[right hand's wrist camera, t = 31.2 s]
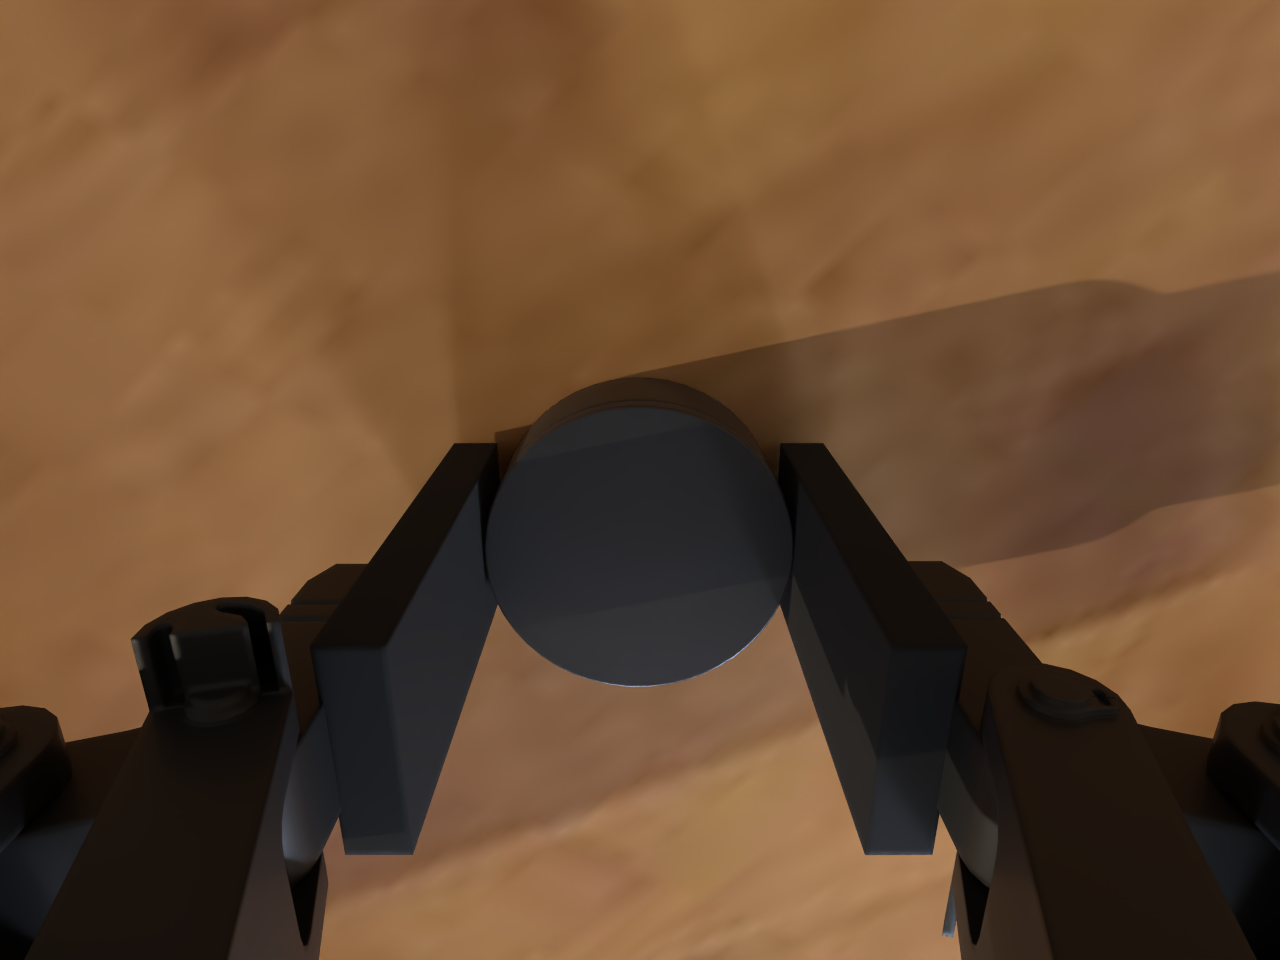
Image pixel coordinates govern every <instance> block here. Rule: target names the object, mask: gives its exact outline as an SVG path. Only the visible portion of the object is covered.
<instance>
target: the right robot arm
mask: <svg viewBox="0 0 1280 960" xmlns="http://www.w3.org/2000/svg"><path fill="white" fill-rule="evenodd" d="M499 484H500V481H499V466H498V451H497V443H454V445H453V446H452V447H451V449H450V450H449V452H448V453H447V454H446V456H445V457H444V459H443V460H442V461H441V463H440V464H439V466H438V467H437V468H436V470H435V471H434V473H433V474H432V475H431V477H430V478H429V480H428V481H427V482H426V484H425V485H424V487H423V488H422V489H421V491H420V492H419V494H418V495H417V496H416V498H415V499H414V501H413V502H412V503H411V505H410V506H409V508H408V509H407V510H406V512H405V513H404V515H403V516H402V517H401V519H400V520H399V521H398V523H397V524H396V526H395V527H394V528H393V530H392V531H391V533H390V534H389V535H388V537H387V538H386V540H385V541H384V542H383V544H382V545H381V547H380V548H379V549H378V551H377V552H376V554H375V555H374V556H373V558H372V559H371V561H370V562H369V563H368V564H335V565H334V566H332V567H330V568H329V569H327V570H325V571H323V572H322V573H320V574H318V575H317V576H315V577H313V578H312V579H310V580H308V581H307V582H306V584H305V585H304V586H303V587H302V588H301V589H300V591H299V592H298V593H297V594H296V595H295V597H294V598H293V599H292V600H291V605H287V606H286V607H285V609H284V610H283V611H282V612H281V613H280V615H279V611H278V609H277V608H276V607H275V606H273V605H272V604H270V603H269V602H268V601H265V600H260V599H255V598H250V597H225V598H217V599H212V600H207V601H202V602H197V603H193V604H190V605H187V606H184V607H181V608H178V609H176V610H173V611H170V612H167V613H165V614H164V615H162V616H160V617H158V618H157V619H155V620H153V621H151V622H149V623H148V624H146V625H144V626H143V627H142V628H141V629H140V630H139V631H138V632H137V633H136V634H135V635H134V636H133V637H132V638H131V643H132V646H133V650H134V654H135V658H136V661H137V665H138V669H139V673H140V677H141V680H142V684H143V688H144V692H145V695H146V699H147V703H148V707H149V713H148V715H147V717H146V719H145V721H144V723H143V725H142V727H140V728H136V729H132V730H128V731H123V732H118V733H113V734H108V735H103V736H98V737H92V738H87V739H82V740H77V741H72V742H67V743H65V741H64V738H63V734H62V731H61V728H60V725H59V722H58V719H57V717H56V716H55V715H53V714H52V713H51V712H49V711H48V710H47V709H45V708H39V707H31V706H14V707H6V708H0V960H319V953H320V945H321V937H322V929H323V921H324V913H325V905H326V897H327V889H328V879H327V872H326V865H325V860H324V854H323V848H324V846H325V844H326V842H327V840H328V838H329V836H330V833H331V831H332V829H333V827H334V825H335V823H336V821H337V819H338V817H339V821H340V827H341V832H342V838H343V844H344V850H345V855H413V852H414V849H415V846H416V843H417V840H418V838H419V835H420V832H421V829H422V826H423V823H424V820H425V817H426V814H427V811H428V808H429V805H430V802H431V799H432V796H433V793H434V790H435V787H436V785H437V782H438V779H439V776H440V773H441V770H442V767H443V764H444V761H445V758H446V755H447V752H448V749H449V746H450V743H451V740H452V737H453V735H454V732H455V729H456V726H457V723H458V720H459V717H460V714H461V711H462V708H463V705H464V702H465V699H466V696H467V693H468V690H469V687H470V684H471V682H472V679H473V676H474V673H475V670H476V667H477V664H478V661H479V658H480V655H481V652H482V649H483V646H484V643H485V640H486V637H487V634H488V631H489V629H490V626H491V623H492V620H493V617H494V614H495V611H496V608H497V605H498V603H497V601H496V599H495V597H494V594H493V591H492V588H491V586H490V583H489V579H488V574H487V570H486V565H485V552H484V540H485V528H486V523H487V518H488V514H489V510H490V506H491V504H492V501H493V499H494V496H495V494H496V491H497V489H498V487H499ZM778 484H779V486H780V488H781V490H782V492H783V494H784V497H785V500H786V503H787V505H788V508H789V511H790V516H791V521H792V526H793V537H794V554H793V565H792V570H791V574H790V578H789V583H788V585H787V588H786V591H785V593H784V596H783V598H782V601H781V602H780V606H781V609H782V612H783V615H784V618H785V621H786V623H787V626H788V629H789V632H790V635H791V638H792V641H793V644H794V647H795V650H796V653H797V656H798V659H799V662H800V665H801V668H802V671H803V674H804V676H805V679H806V682H807V685H808V688H809V691H810V694H811V697H812V700H813V703H814V706H815V709H816V712H817V715H818V718H819V721H820V724H821V727H822V729H823V732H824V735H825V738H826V741H827V744H828V747H829V750H830V753H831V756H832V759H833V762H834V765H835V768H836V771H837V774H838V777H839V780H840V782H841V785H842V788H843V791H844V794H845V797H846V800H847V803H848V806H849V809H850V812H851V815H852V818H853V821H854V824H855V827H856V830H857V832H858V835H859V838H860V841H861V844H862V847H863V850H864V853H865V855H932V854H933V848H934V842H935V836H936V831H937V825H938V819H939V813H940V816H941V818H942V820H943V822H944V824H945V826H946V828H947V830H948V832H949V834H950V836H951V838H952V841H953V843H954V845H955V847H956V849H957V854H956V860H955V865H954V871H953V876H952V881H951V887H950V892H949V898H948V903H947V908H946V914H945V920H944V926H943V933H942V935H943V936H948V937H952V938H953V935H954V930H955V925H956V921H957V927H958V935H959V943H960V951H961V959H962V960H1280V704H1273V703H1264V702H1256V701H1255V702H1247V703H1239V704H1233V705H1232V706H1230V707H1229V708H1227V709H1226V710H1225V711H1223V712H1222V713H1221V715H1220V718H1219V722H1218V725H1217V728H1216V731H1215V734H1214V738H1213V739H1211V738H1205V737H1200V736H1195V735H1190V734H1185V733H1179V732H1174V731H1169V730H1164V729H1158V728H1153V727H1148V726H1144V725H1140V724H1137V722H1136V720H1135V718H1134V716H1133V714H1132V712H1131V710H1130V709H1129V708H1128V707H1127V705H1126V704H1125V703H1124V702H1123V700H1122V699H1121V698H1120V697H1119V696H1118V694H1116V693H1115V692H1113V691H1112V690H1110V689H1109V688H1107V687H1106V686H1104V685H1103V684H1101V683H1100V682H1098V681H1097V680H1094V679H1092V678H1090V677H1087V676H1085V675H1082V674H1080V673H1077V672H1075V671H1073V670H1070V669H1065V668H1061V667H1057V666H1052V665H1048V664H1042V663H1041V661H1040V660H1039V659H1038V658H1037V657H1036V655H1035V654H1034V653H1033V652H1032V651H1031V650H1030V648H1029V647H1028V646H1027V645H1026V644H1025V642H1024V641H1023V640H1022V639H1021V638H1020V637H1019V635H1018V634H1017V633H1016V632H1015V631H1014V629H1013V628H1012V627H1011V626H1010V625H1009V623H1008V622H1007V621H1006V620H1005V619H1004V618H1001V614H1000V613H999V612H998V610H997V609H996V608H995V607H994V606H993V605H992V603H991V602H987V597H986V596H985V595H984V594H983V593H982V591H981V590H980V589H979V588H978V587H977V586H976V584H975V583H974V582H973V581H972V580H971V578H969V577H967V576H966V575H964V574H962V573H961V572H959V571H957V570H956V569H954V568H952V567H951V566H949V565H947V564H945V563H944V562H942V561H907V560H906V559H905V557H904V556H903V554H902V553H901V552H900V550H899V549H898V547H897V546H896V545H895V543H894V542H893V540H892V539H891V538H890V536H889V535H888V533H887V532H886V531H885V529H884V528H883V526H882V525H881V524H880V522H879V521H878V519H877V518H876V517H875V515H874V514H873V512H872V511H871V510H870V508H869V507H868V505H867V504H866V503H865V501H864V500H863V498H862V497H861V496H860V494H859V493H858V491H857V490H856V489H855V487H854V486H853V484H852V483H851V482H850V480H849V479H848V477H847V476H846V475H845V473H844V472H843V470H842V469H841V468H840V466H839V465H838V463H837V462H836V461H835V459H834V458H833V456H832V455H831V454H830V452H829V451H828V449H827V448H826V447H825V445H824V444H823V443H781V445H780V460H779V476H778Z"/></svg>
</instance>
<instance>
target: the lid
mask: <svg viewBox="0 0 1280 960" xmlns="http://www.w3.org/2000/svg"><path fill="white" fill-rule="evenodd" d="M484 552H485V565H486V570H487V574H488V579H489V583H490V586H491V588H492V591H493V594H494V597H495V599H496V601H497V603H498V605H499V607H500V609H501V611H502V613H503V614H504V616H505V617H506V619H507V620H508V622H509V623H510V624H511V626H512V627H513V629H514V630H515V631H516V632H517V633H518V634H519V636H520V637H521V638H522V639H523V640H524V641H525V642H526V643H527V644H528V645H529V646H530V647H532V648H533V649H534V650H535V651H536V652H538V653H539V654H540V655H541V656H543V657H544V658H546V659H547V660H549V661H550V662H552V663H553V664H555V665H556V666H558V667H560V668H562V669H564V670H567V671H569V672H571V673H573V674H575V675H578V676H581V677H584V678H586V679H589V680H592V681H597V682H601V683H605V684H610V685H618V686H627V687H649V686H659V685H667V684H671V683H676V682H680V681H685V680H688V679H691V678H693V677H696V676H699V675H702V674H704V673H706V672H708V671H710V670H713V669H715V668H717V667H719V666H720V665H722V664H724V663H725V662H727V661H728V660H730V659H732V658H733V657H735V656H736V655H737V654H738V653H740V652H741V651H742V650H743V649H745V648H746V647H747V646H748V645H749V644H750V643H751V642H752V641H753V640H754V639H755V638H756V637H757V636H758V635H759V634H760V633H761V632H762V631H763V629H764V628H765V626H766V625H767V624H768V622H769V621H770V620H771V618H772V617H773V615H774V613H775V612H776V610H777V608H778V606H779V604H780V602H781V601H782V598H783V596H784V593H785V591H786V588H787V585H788V583H789V578H790V574H791V570H792V565H793V554H794V537H793V526H792V521H791V516H790V511H789V508H788V505H787V503H786V500H785V497H784V494H783V492H782V490H781V488H780V486H779V484H778V482H777V480H776V478H775V476H774V474H773V472H772V470H771V468H770V466H769V464H768V462H767V460H766V458H765V456H764V454H763V452H762V450H761V448H760V447H759V445H758V443H757V441H756V439H755V438H754V437H753V435H752V434H751V433H750V431H749V430H748V428H747V427H746V426H745V425H744V424H743V423H742V422H741V421H740V420H739V419H738V418H737V416H736V415H735V414H734V413H732V412H731V411H730V410H729V409H727V408H726V407H725V406H723V405H722V404H721V403H720V402H718V401H716V400H715V399H713V398H711V397H710V396H708V395H706V394H704V393H703V392H700V391H698V390H695V389H693V388H691V387H688V386H686V385H682V384H678V383H675V382H671V381H667V380H660V379H653V378H626V379H617V380H610V381H606V382H603V383H599V384H595V385H592V386H589V387H587V388H584V389H582V390H579V391H577V392H575V393H573V394H571V395H569V396H568V397H566V398H564V399H562V400H561V401H559V402H558V403H556V404H555V405H554V406H552V407H551V408H550V409H548V410H547V411H546V412H545V413H544V414H543V415H542V416H541V417H540V418H539V419H538V420H537V421H536V422H535V423H534V424H533V425H532V426H531V427H530V429H529V430H528V431H527V432H526V434H525V435H524V436H523V438H522V439H521V441H520V443H519V445H518V446H517V448H516V450H515V452H514V453H513V456H512V458H511V460H510V462H509V464H508V467H507V469H506V471H505V473H504V476H503V478H502V480H501V482H500V484H499V487H498V489H497V491H496V494H495V496H494V499H493V501H492V504H491V506H490V510H489V514H488V518H487V523H486V528H485V540H484Z"/></svg>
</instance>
